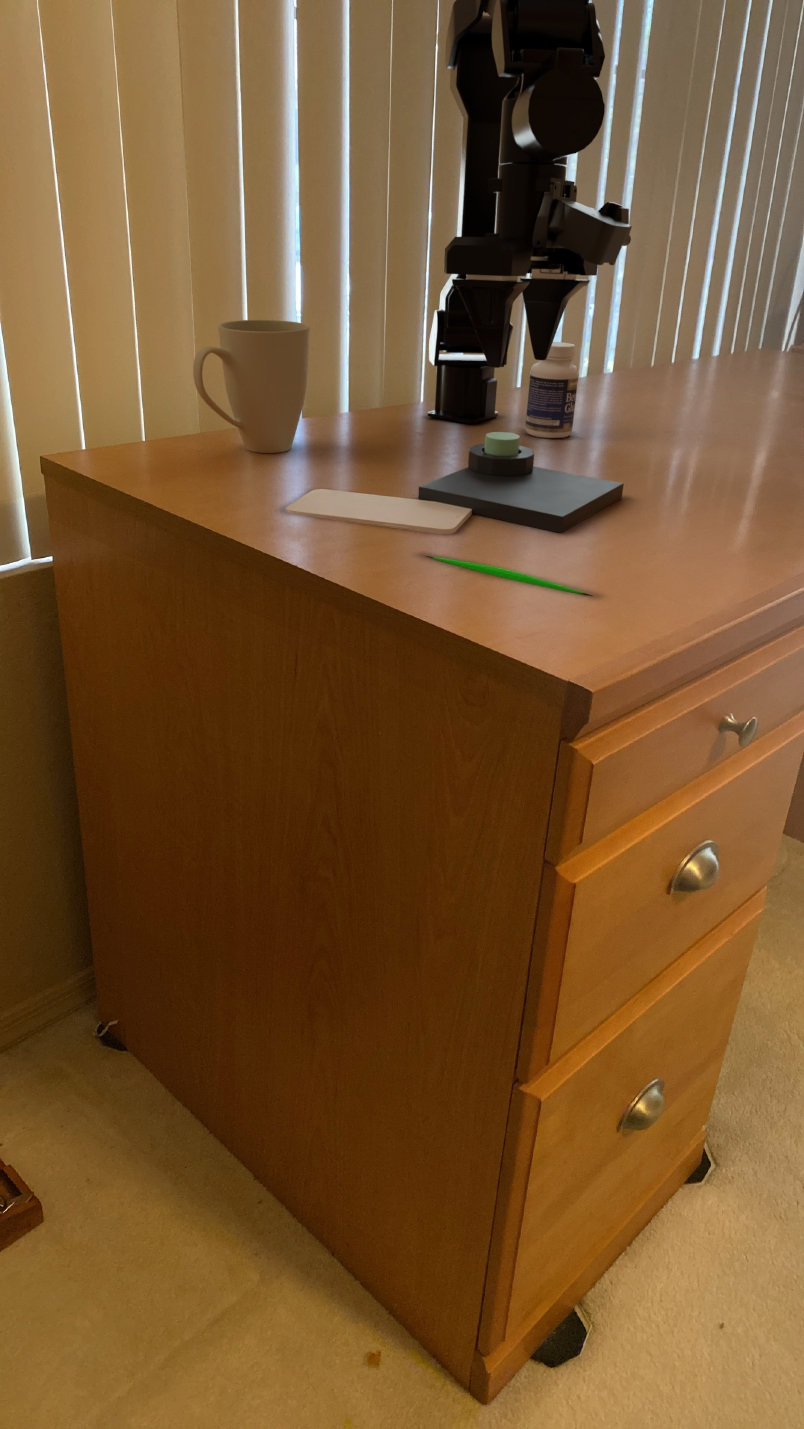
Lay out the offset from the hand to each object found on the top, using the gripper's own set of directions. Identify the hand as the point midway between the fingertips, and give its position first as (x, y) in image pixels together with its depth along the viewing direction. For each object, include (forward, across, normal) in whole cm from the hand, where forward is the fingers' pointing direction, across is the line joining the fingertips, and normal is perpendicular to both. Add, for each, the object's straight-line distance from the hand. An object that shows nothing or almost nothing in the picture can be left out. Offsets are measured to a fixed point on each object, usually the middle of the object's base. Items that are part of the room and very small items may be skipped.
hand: (518, 363), depth 88 cm
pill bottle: (+10, +22, +6) cm, 25 cm away
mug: (+10, -5, +27) cm, 29 cm away
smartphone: (+12, -15, +5) cm, 20 cm away
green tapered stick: (+13, -22, -11) cm, 28 cm away
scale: (+11, -4, -3) cm, 12 cm away
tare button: (+8, 0, +1) cm, 8 cm away
